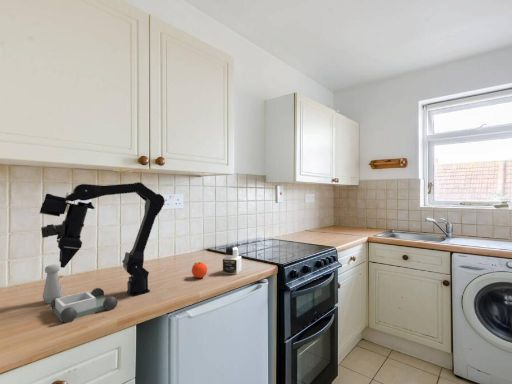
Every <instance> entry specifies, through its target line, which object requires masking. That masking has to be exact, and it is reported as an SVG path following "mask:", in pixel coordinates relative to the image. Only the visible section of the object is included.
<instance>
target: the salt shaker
mask: <svg viewBox="0 0 512 384" xmlns="http://www.w3.org/2000/svg"><path fill="white" fill-rule="evenodd" d="M60 268H61V267H60V265H59V264H50V265H46V266H45V267H44V272H45V274H46V278H45V284H44V288H43V292H42V299H43V301H44V303H45V304H49V305H50V303H51V301H52V300H53V299H54V298H57V297H63V290H62V285H61V282H60V277H59V271H60Z"/></svg>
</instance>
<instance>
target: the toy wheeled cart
mask: <svg viewBox="0 0 512 384" xmlns="http://www.w3.org/2000/svg"><path fill="white" fill-rule="evenodd" d="M49 305H50V309H52V310H53V314H54V315H56V317H57V318H58V319H59V321H60V322H61V323H70V322H73V321H74V320H75V319H78V318H82V317H85V316H89V315H92V314H95V313H98V312H103V311H105V310H106V311H111V310H114V309H115V308H116V307H117V305H118V299H117V298H116V297H114V296H108V297H107V296H105V291H104V290H103V289H102V288H100V287H95V288H93V289H92V291H91V292H89V291H87V290H85V291H82V292H78V293H73V294H69V295H64V296H61V297H57V298H54V299H53V300H52V301H51V303H50V304H49Z"/></svg>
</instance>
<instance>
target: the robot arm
mask: <svg viewBox="0 0 512 384" xmlns="http://www.w3.org/2000/svg"><path fill="white" fill-rule="evenodd" d="M132 193H133V194H134V193H135V194H136V195H138V197H140V198H141V199H142V200H143V201H145V202H144V207H143V209H144V215H143V217H142V220H141V223H140V226H139V228H138V233H137V235H136V237H135V241H134V242H133V243H134V244H133V246H132V248H131V250H130V251H129V252H127V251H126V252H125V253H124V258H123V260H122V261H121V262H122V267H123V270H124V271H125V272H127V274H129V276H128V281H127V291H126V293H128V294H130V295H131V296H138V295H142V294H146V293H150V292H151V290H150V289H149V282H148V281H149V279H148V278H149V274H150V272H149V271H148V270H147V269H145V268H144V262H145V261H144V260H145V256H144V255H145V249H146V247H147V244H148V241H149V237H150V234H151V233H152V228H153V227H154V226H153V225H154V223H155V220H156V217H157V216H158V215H159V214H160V212H161V211H162V208H163V207H164V206H165V202H166V200H165V197H164V196H163V195H162V194H159V193H156V192H155V191H153V190H152V189H150V188H148V187H147V186H146V185H145V184H143V182H139V181H138V182H137V181H136V182H133V183H132V182H131V183H119V184H109V185H100V184H99V185H98V184H91V183H90V184H89V183H88V184H87V183H81V184H77V185H76V186H75V187H74V188H73V190H72V192H71V193H70V194H68V195H66V196H65V197H64V196H58V195H54V194H51V193H46V194H45V196H44V200H43V202H42V203H41V207H40V209H39V214H40V215H41V214H42V215H47V216H55V217H60V215H65V213H66V215H65V219H63V221H62V222H61V224H53V223H52V224H46V226H45V225H44V226H41V228H40V230H41V236H42V237H41V238H44V239H45V238H49V237H52V236H56V242H57V247H58V249H59V259H58V260H59V262H60V265H59V267H60V268H63V269H64V268H65V267H66V266H67V265H68V263H69V262H70V261H71V260H72V259H73V257H74V256H75V255H76V254H77V253H78V252H79V251H80V249H81V248H82V246H83V241H82V240H81V238H82V237H81V233H82V230H83V228H84V226H85V224H84V223H85V220H86V217H87V213H88V210H90V209H91V210H95V206H94V205H93V203H92V201H89V200H93V199H96V198H100V197H103V196H111V195H112V196H113V195H122V194H132ZM67 201H68V202H67ZM76 201H77V203H72V202H76ZM82 201H89V202H82ZM67 207H68V209H67ZM66 210H67V211H66Z"/></svg>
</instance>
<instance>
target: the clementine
mask: <svg viewBox="0 0 512 384" xmlns="http://www.w3.org/2000/svg"><path fill="white" fill-rule="evenodd" d="M207 273H208V268H207V265H206V264H205V263H204V262H203V261H201V262H200V261H197V262H196V261H195V263H194V264H193V265H192V267H191V274H192V276H194V277H195V278H196V279H201V278H204V277H205V276H206V275H207Z"/></svg>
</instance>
